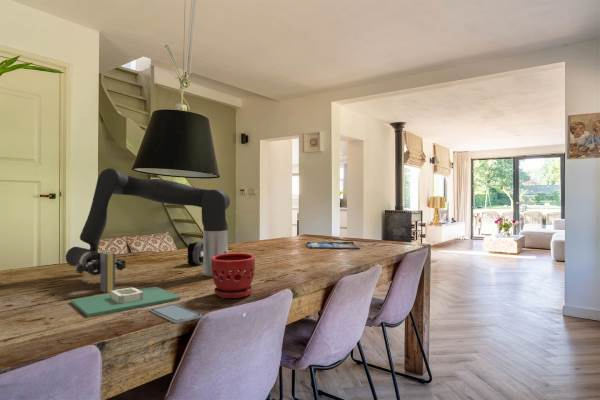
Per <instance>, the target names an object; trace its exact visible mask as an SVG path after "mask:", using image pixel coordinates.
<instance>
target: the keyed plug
mask: <svg viewBox="0 0 600 400" xmlns="http://www.w3.org/2000/svg"><path fill="white" fill-rule="evenodd" d="M100 253H101V262H100V274H99V275H100V291H101V292H103V294H104V293H105V294H107V293H110V291H112V290H116V269H115V267H116V265H115V261H116V253H114V252H112V251H109V252H108V251H107V252H106V251H105V252H100Z"/></svg>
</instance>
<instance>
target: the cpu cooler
mask: <svg viewBox="0 0 600 400" xmlns="http://www.w3.org/2000/svg"><path fill="white" fill-rule="evenodd" d="M186 252H187V264H188V265H189V266H190V265H195V266H202V265H203V241H195V242H191V243H188V246H187V251H186Z"/></svg>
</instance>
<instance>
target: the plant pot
mask: <svg viewBox="0 0 600 400" xmlns="http://www.w3.org/2000/svg"><path fill="white" fill-rule="evenodd" d="M255 259H256V258H255V255H254V254H250V253H245V252H244V253H242V252H240V253H239V252H235V253H233V252H232V253H228V254H221V255H216V256H214V257H212V259H211V268H212V275H213V276H212V280H213V283H214V285H215V287H214V290H213V291H214V294H215V295H216V296H218V297H220V298H225V299H239V298H244V297H247V296H248V295H250V294H251V293H252V292H253V289H254V287H253V286H251V285H252V283H253V280H254V278H255V277H254V275H255V267H256V265H255V264H256V261H255Z"/></svg>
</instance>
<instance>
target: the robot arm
mask: <svg viewBox="0 0 600 400" xmlns="http://www.w3.org/2000/svg"><path fill="white" fill-rule="evenodd" d="M113 195H121V196H134V197H139V198H143V199H145V200H148V201H153V202H156V203H161V204H167V205H173V206H174V205H175V206H190V207H191V206H194V207H198V208H201V223H202V225H203V226H202V227H203V228H202V229H203V233H202V234H203V237H202V238H203V240H202V242H203V267H202V272H203V276H205V277H213V275H212V268H211V259H212V257H214V256H216V255H221V254H229V249H228V247H229V246H228V243H229V242H228V239H229V238H228V237H229V236H228V229H229V228H228V225H229V224H228V222H227V219H226V210H227V209H228V208H229V207H230V204H231V199H230V197H229V195H228V194H227V193H226V192H225V191H223V190H221V189H215V188H213V189H205V188H199V187H195V186H192V185H187V184H185V183H182V182H181V183H180V182H178V181H173V180H168V179H162V178H139V177H137V176H136V177H135V176H133V175H132V176H131V175H128V174H126V173H123V172H122V171H119V170H117V169H115V168H111V167H110V168H105V169H103V170H102V171H101V172H100V173H99V175H98V177H97V181H96V184H95V190H94V193H93V197H92V202H91V205H90V209H89V212H88V215H87V218H86V221H85V223H84V226H83V228H82V230H81V233H80V235H79V240H81V242H84V243H86V244H88V245H89V249H88V248H84V247H80V246H72V247H71V248H70V249H68V250H67V252H66V254H65V261H66V264H67V265H70V266H72V267H73V266H74V267H75V272H76V273H78V274H82V273H84V274H85V273H86V274H90V275H93V276H99V275H100V262H101V253H102V252H99V248H100V247H99V246H100V241H101V238H102V237H103V233H104V231H105V228H106V226H107V225H106V224H107V221H108V208H109V204H110V200H111V197H112V196H113ZM126 262H127V261H126V260H124V259H121V258H117V259H115V270H118V271H123V270H124V269H126V268H127V267H126V264H127V263H126Z"/></svg>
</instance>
